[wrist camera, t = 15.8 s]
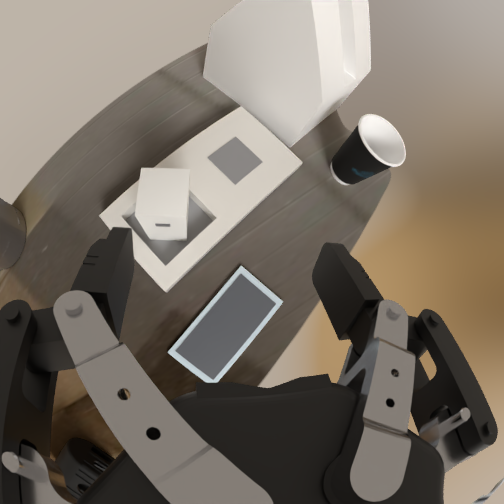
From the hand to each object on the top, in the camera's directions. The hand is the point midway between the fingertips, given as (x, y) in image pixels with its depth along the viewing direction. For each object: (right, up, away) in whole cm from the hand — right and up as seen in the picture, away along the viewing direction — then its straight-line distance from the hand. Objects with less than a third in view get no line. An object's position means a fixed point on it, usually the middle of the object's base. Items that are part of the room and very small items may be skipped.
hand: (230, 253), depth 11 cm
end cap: (-23, -30, +13) cm, 40 cm away
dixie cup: (+15, +13, +29) cm, 35 cm away
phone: (-2, -9, +22) cm, 24 cm away
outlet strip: (-5, +8, +23) cm, 25 cm away
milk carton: (+5, +28, +29) cm, 41 cm away
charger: (-9, +4, +21) cm, 23 cm away
